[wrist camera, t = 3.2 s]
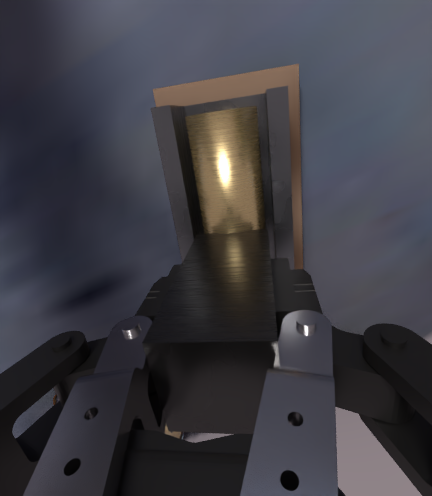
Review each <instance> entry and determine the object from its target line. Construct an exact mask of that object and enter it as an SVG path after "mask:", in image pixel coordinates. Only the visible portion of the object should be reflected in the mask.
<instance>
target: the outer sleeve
mask: <svg viewBox="0 0 432 496" xmlns="http://www.w3.org/2000/svg"><path fill="white" fill-rule="evenodd" d="M249 106H257V116H258V129H259V143H260V156H261V170H262V183H263V197H264V210H265V224H266V229H268V233H269V244H270V256H271V259H276V258H288V261H289V265H290V270H294V240H293V212H292V183H291V154H290V126H289V97H288V86H282V87H276V88H270V89H266V91H265V93H263V94H256V95H250V96H244V97H238V98H232V99H225V100H219V101H213V102H207V103H201V104H194V105H188V106H176V105H166V106H160V107H154V108H151V112H152V116H153V121H154V126H155V131H156V136H157V141H158V146H159V151H160V156H161V160H162V165H163V170H164V175H165V180H166V185H167V190H168V195H169V200H170V204H171V209H172V214H173V219H174V224H175V229H176V234H177V239H178V244H179V248H180V253H181V258H182V263H183V261H184V259H185V257H186V255H187V253H188V251H189V249H190V247H191V245H192V243H193V241H194V239H195V237H196V235H197V234H204V228H203V222H202V216H201V210H200V204H199V198H198V192H197V186H196V180H195V173H194V167H193V161H192V155H191V149H190V143H189V137H188V131H187V125H186V119H185V117H186V116H190V115H196V114H202V113H208V112H214V111H221V110H227V109H234V108H241V107H249Z"/></svg>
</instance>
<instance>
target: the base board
mask: <svg viewBox="0 0 432 496" xmlns="http://www.w3.org/2000/svg"><path fill="white" fill-rule="evenodd" d="M282 86H288V97H289V126H290V154H291V183H292V212H293V240H294V269H303V242H302V196H301V150H300V104H299V64H295V65H289V66H284V67H278V68H272V69H266V70H261V71H255V72H249V73H244V74H238V75H232V76H226V77H221V78H215V79H209V80H203V81H198V82H192V83H186V84H181V85H175V86H169V87H163V88H158V89H153V93H154V98H155V103H156V107H160V106H166V105H176V106H188V105H194V104H201V103H207V102H213V101H219V100H225V99H232V98H238V97H244V96H250V95H256V94H263V93H265V91H266V89H270V88H276V87H282Z"/></svg>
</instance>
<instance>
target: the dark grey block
mask: <svg viewBox="0 0 432 496" xmlns="http://www.w3.org/2000/svg"><path fill="white" fill-rule="evenodd" d="M185 119H186V125H187V131H188V137H189V143H190V149H191V155H192V161H193V167H194V173H195V180H196V186H197V192H198V198H199V204H200V210H201V216H202V222H203V228H204V234H197V235H196V237H195V239H194V241H193V243H192V245H191V247H190V249H189V251H188V253H187V255H186V257H185V259H184V261H183V263H182V265H181V267H180V269H179V271H178V273H177V275H176V276H175V278H174V280H173V282H172V284H171V286H170V288H169V290H168V292H167V294H166V296H165V298H164V300H163V302H162V304H161V306H160V308H159V310H158V312H157V314H156V316H155V318H154V320H153V322H152V324H151V326H150V328H149V330H148V332H147V334H146V336H145V338H144V340H143V342H142V345H143V349H144V352H145V355H146V358H147V361H148V364H149V368H150V372H151V375H152V378H153V382H154V385H155V388H156V392H157V395H158V398H159V401H160V405H161V408H162V411H163V414H164V417H165V420H166V425H167V428H168V431H171V432H198V433H224V434H238V433H239V434H254V429H255V425H256V420H257V415H258V411H259V406H260V402H261V397H262V392H263V388H264V383H265V379H266V374H267V371H268V368H269V367H273V366H274V361H275V356H276V355H279V350H278V337H277V325H276V314H275V302H274V291H273V279H272V268H271V256H270V244H269V233H268V229H266V224H265V210H264V197H263V183H262V170H261V156H260V143H259V129H258V116H257V106H249V107H241V108H234V109H227V110H221V111H214V112H208V113H202V114H196V115H190V116H186V117H185Z"/></svg>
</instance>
